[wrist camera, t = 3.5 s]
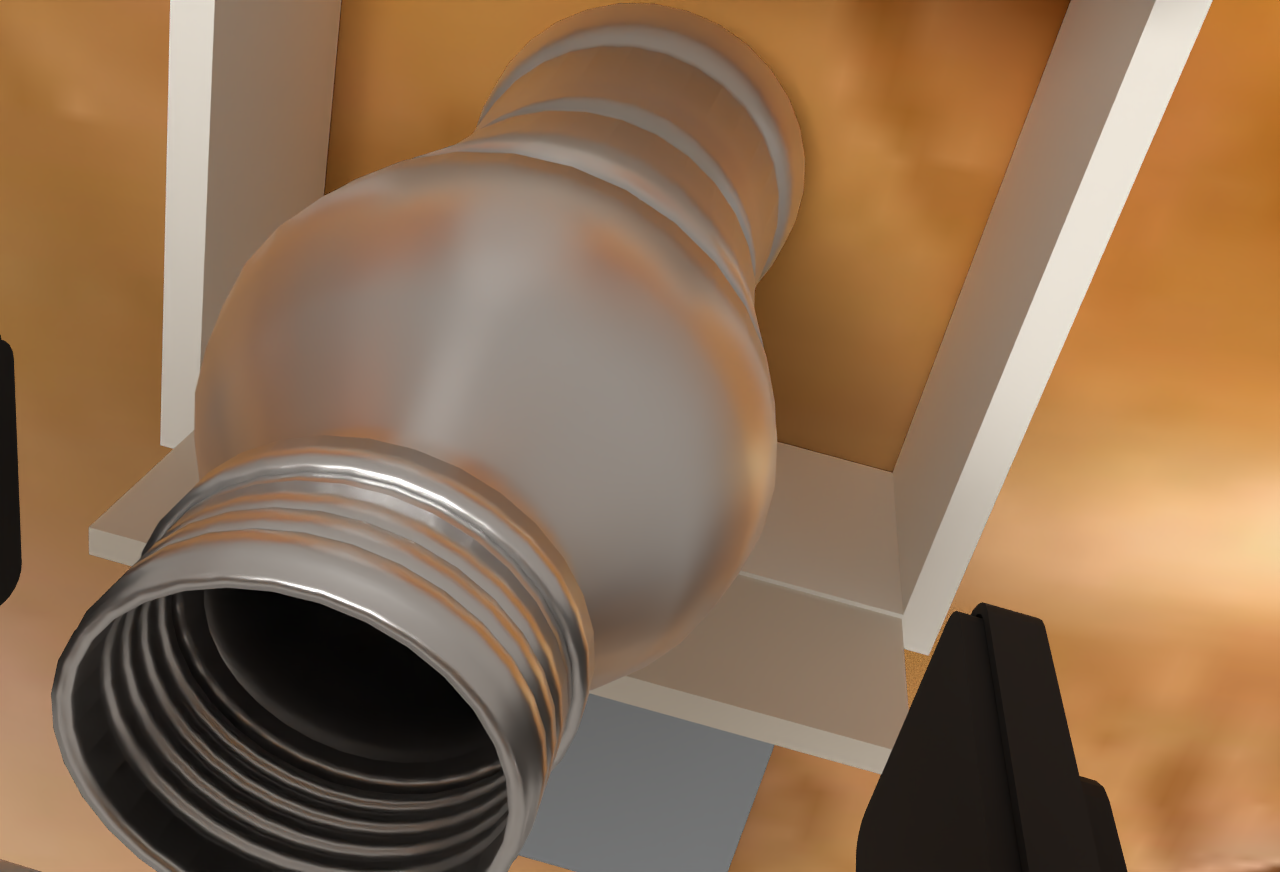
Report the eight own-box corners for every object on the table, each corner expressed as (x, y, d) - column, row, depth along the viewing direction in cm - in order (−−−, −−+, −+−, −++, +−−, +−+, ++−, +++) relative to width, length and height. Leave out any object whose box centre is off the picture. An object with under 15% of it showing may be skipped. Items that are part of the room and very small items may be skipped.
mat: (325, 391, 31) (317, 399, 30) (848, 533, 30) (848, 543, 30) (286, 776, 37) (280, 787, 37) (714, 897, 37) (713, 910, 36)
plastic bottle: (516, -31, 25) (-255, 297, 7) (833, 6, 24) (806, 460, 7) (505, 257, 28) (-61, 972, 10) (787, 296, 27) (687, 1129, 10)
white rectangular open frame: (331, -329, 23) (14, -427, 14) (1161, -122, 22) (1365, -90, 14) (279, 336, 30) (47, 546, 21) (913, 507, 29) (943, 796, 21)
